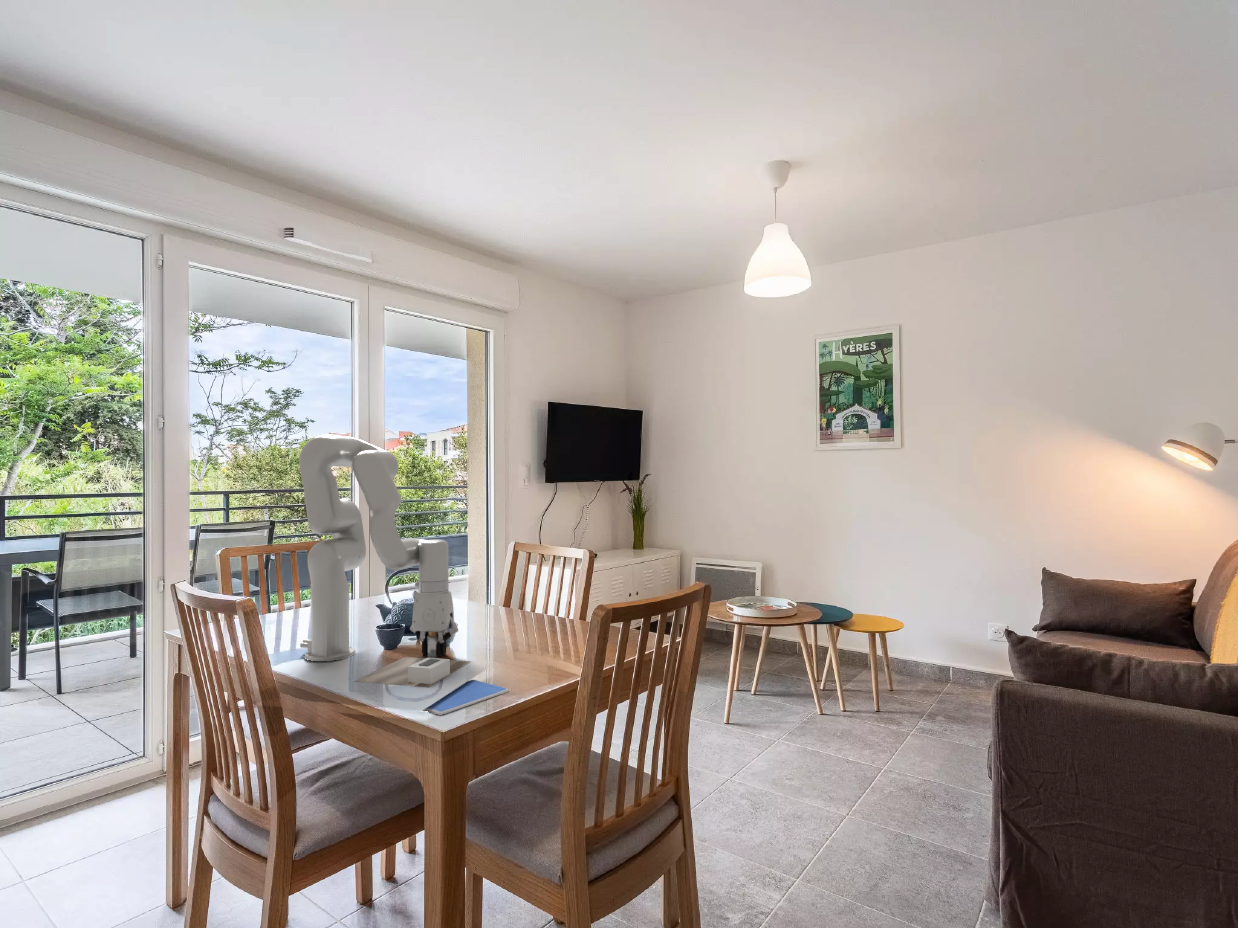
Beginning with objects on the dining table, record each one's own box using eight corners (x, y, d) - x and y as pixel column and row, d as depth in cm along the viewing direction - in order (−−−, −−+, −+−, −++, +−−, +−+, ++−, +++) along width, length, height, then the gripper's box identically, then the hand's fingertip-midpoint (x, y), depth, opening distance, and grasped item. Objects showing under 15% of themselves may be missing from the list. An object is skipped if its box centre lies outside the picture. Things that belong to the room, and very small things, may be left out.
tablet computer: (473, 683, 157) (473, 677, 157) (510, 693, 149) (510, 687, 149) (403, 706, 141) (403, 700, 141) (440, 719, 134) (440, 712, 134)
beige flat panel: (354, 687, 152) (354, 681, 152) (404, 662, 173) (404, 656, 173) (428, 693, 148) (428, 686, 148) (471, 667, 168) (471, 661, 168)
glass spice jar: (424, 662, 173) (424, 625, 174) (431, 658, 177) (431, 622, 177) (436, 662, 172) (436, 626, 173) (443, 659, 176) (443, 623, 176)
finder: (408, 681, 152) (407, 665, 152) (427, 671, 159) (427, 656, 159) (430, 684, 150) (430, 667, 150) (449, 673, 158) (449, 658, 158)
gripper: (397, 588, 173) (398, 658, 173) (455, 590, 169) (455, 662, 169) (413, 583, 181) (413, 651, 180) (469, 585, 177) (469, 654, 176)
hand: (434, 655), depth 175 cm, fingers closed on glass spice jar, 3 cm apart
